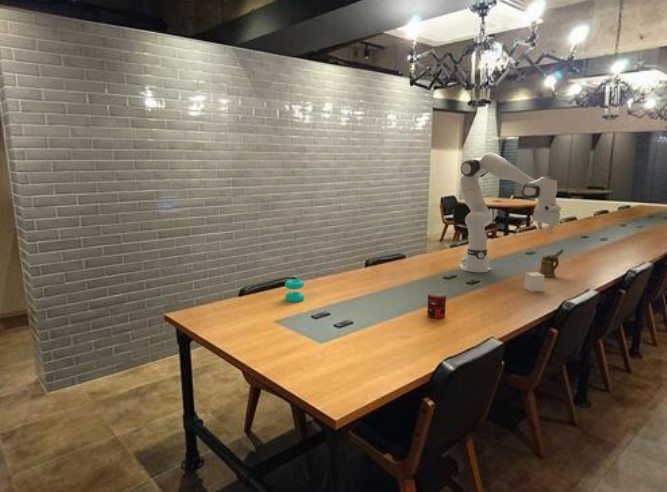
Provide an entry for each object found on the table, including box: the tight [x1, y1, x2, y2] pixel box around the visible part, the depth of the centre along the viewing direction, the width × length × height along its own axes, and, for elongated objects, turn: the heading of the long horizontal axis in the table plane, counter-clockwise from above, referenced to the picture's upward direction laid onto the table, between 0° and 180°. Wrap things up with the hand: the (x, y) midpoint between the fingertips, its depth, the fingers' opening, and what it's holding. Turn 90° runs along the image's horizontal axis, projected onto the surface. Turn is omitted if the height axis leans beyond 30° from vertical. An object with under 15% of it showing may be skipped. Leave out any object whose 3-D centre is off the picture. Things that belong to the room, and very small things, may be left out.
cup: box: [524, 271, 546, 293], centre depth 241 cm, size 7×7×9 cm
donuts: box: [284, 278, 306, 303], centre depth 228 cm, size 10×10×10 cm
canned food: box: [426, 290, 447, 320], centre depth 201 cm, size 8×8×11 cm
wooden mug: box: [538, 248, 564, 278], centre depth 267 cm, size 9×14×18 cm, turn 35°
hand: (544, 231), depth 244 cm, fingers open, 8 cm apart
